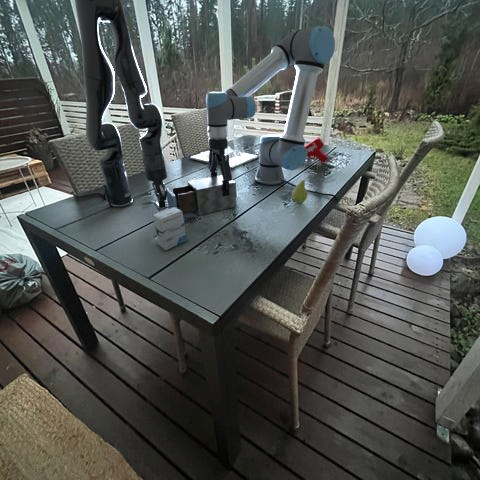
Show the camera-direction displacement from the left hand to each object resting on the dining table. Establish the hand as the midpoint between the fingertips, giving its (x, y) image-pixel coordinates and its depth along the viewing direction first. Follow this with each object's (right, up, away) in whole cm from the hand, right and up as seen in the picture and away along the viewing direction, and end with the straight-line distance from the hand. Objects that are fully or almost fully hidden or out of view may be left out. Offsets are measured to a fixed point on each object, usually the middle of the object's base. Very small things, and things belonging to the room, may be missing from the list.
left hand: (162, 208), depth 108 cm
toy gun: (+75, +37, +64) cm, 105 cm away
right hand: (+22, +9, +9) cm, 25 cm away
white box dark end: (+19, +2, +11) cm, 22 cm away
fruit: (+57, +5, +14) cm, 59 cm away
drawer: (+7, 0, +5) cm, 9 cm away
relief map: (+20, +42, +72) cm, 86 cm away
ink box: (+7, -14, -14) cm, 21 cm away
